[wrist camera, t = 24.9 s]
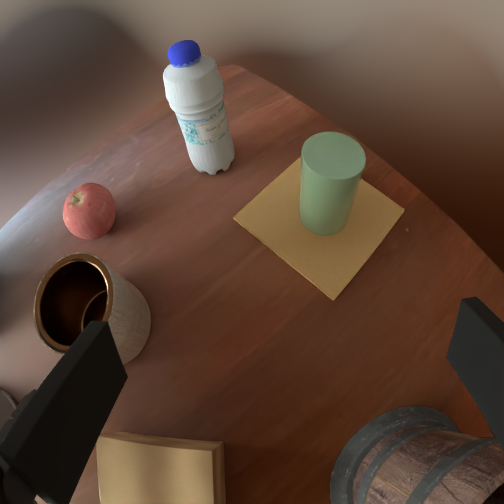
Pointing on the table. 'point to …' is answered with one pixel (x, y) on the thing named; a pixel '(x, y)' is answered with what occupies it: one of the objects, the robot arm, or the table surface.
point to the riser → (159, 470)
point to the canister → (329, 181)
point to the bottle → (199, 106)
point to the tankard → (417, 462)
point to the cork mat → (313, 245)
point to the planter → (90, 305)
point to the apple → (89, 211)
